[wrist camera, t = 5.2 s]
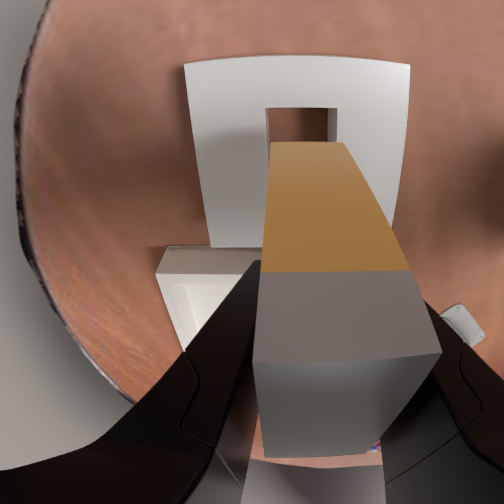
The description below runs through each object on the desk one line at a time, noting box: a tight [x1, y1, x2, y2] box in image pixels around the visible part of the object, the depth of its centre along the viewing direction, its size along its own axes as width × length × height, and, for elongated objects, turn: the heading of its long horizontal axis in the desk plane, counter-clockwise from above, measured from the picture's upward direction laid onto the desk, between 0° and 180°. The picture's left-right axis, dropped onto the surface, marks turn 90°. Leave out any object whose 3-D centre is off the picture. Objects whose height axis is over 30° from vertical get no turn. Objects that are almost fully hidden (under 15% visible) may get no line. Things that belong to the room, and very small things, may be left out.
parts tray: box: [155, 245, 262, 351], centre depth 24 cm, size 14×14×3 cm
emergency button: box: [439, 303, 485, 347], centre depth 27 cm, size 9×4×15 cm
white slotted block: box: [184, 54, 410, 248], centre depth 15 cm, size 10×10×3 cm
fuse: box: [252, 142, 442, 458], centre depth 8 cm, size 2×4×8 cm, turn 4°
